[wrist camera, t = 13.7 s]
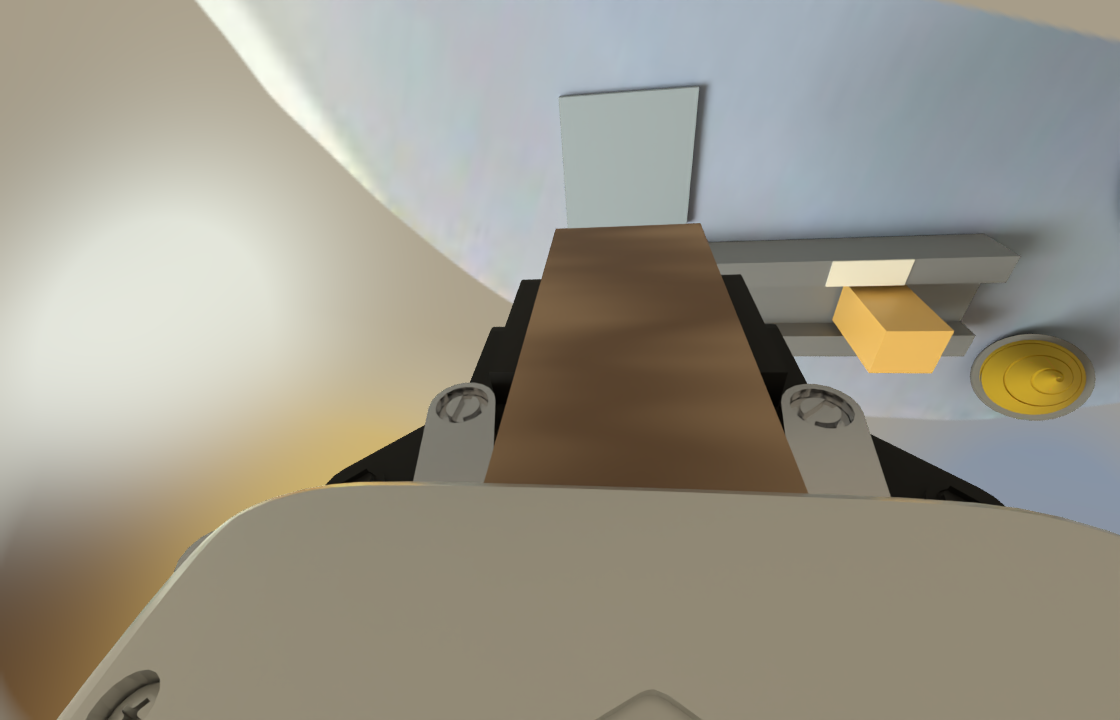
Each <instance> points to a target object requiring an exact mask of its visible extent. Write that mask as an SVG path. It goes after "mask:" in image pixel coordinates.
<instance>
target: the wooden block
mask: <svg viewBox="0 0 1120 720" xmlns="http://www.w3.org/2000/svg"><path fill="white" fill-rule="evenodd" d="M484 483H505V484H541V485H577V486H609V487H640V488H670V489H700V490H728V491H755V492H781V493H808V491H807V488H806V486H805V483H804V481H803V478H802V476H801V473H800V471H799V468H798V466H797V463H796V461H795V458H794V456H793V453H792V451H791V448H790V446H789V443H788V441H787V438H786V436H785V433H784V431H783V428H782V426H781V423H780V421H779V418H778V416H777V413H776V411H775V408H774V406H773V403H772V401H771V398H770V396H769V393H768V391H767V388H766V386H765V383H764V381H763V378H762V376H761V373H760V371H759V368H758V366H757V363H756V361H755V358H754V356H753V353H752V351H751V349H750V346H749V344H748V341H747V339H746V336H745V334H744V331H743V329H742V326H741V324H740V321H739V319H738V316H737V314H736V311H735V309H734V306H733V304H732V301H731V299H730V296H729V294H728V291H727V289H726V286H725V284H724V281H723V279H722V276H721V274H720V271H719V269H718V266H717V264H716V261H715V259H714V256H713V254H712V251H711V249H710V246H709V244H708V241H707V239H706V236H705V234H704V231H703V229H702V226H701V224H700V223H693V224H668V225H642V226H617V227H591V228H565V229H556V230H555V233H554V237H553V240H552V244H551V247H550V251H549V254H548V258H547V262H546V265H545V269H544V272H543V276H542V279H541V283H540V286H539V290H538V293H537V297H536V300H535V304H534V307H533V311H532V314H531V318H530V321H529V325H528V328H527V332H526V336H525V339H524V343H523V346H522V350H521V353H520V357H519V360H518V364H517V367H516V371H515V374H514V378H513V381H512V385H511V388H510V392H509V395H508V399H507V402H506V406H505V409H504V413H503V417H502V420H501V424H500V427H499V431H498V434H497V438H496V441H495V445H494V448H493V452H492V455H491V459H490V462H489V466H488V469H487V473H486V476H485V480H484ZM808 494H809V493H808Z"/></svg>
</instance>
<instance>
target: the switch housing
mask: <svg viewBox="0 0 1120 720" xmlns="http://www.w3.org/2000/svg"><path fill="white" fill-rule="evenodd" d="M708 244H709V246H710V249H711V251H712V254H713V256H714V259H715V261H716V264H717V266H718V269H719V271H720V274H721V275H732V274H741V275H742V277H743V279H744V281H745V283H746V285H747V287H748V289H749V292H750V294H751V296H752V298H753V300H754V302H755V304H756V306H757V308H758V310H759V313H760V315H761V317H762V319H763V321H764V323H765V324H776V325H777V327H778V328H779V330H780V332H781V334H782V336H783V338H784V340H785V342H786V344H787V345H788V347H789V349H790V351H791V353H792V355H793V356H857V355H856V353H855V352H854V351H853V349H852V348H851V346H850V345H849V343H848V342H847V340H846V339H845V338H844V336H843V335H842V333H841V332H840V330H839V329H838V327H837V326H836V325H835V323H834V322H833V320H832V319H833V316H834V313H835V310H836V307H837V304H838V301H839V298H840V295H841V292H842V289H843V286H895V285H906V286H908V287H909V288H910V289H911V290H912V291H913V292H914V293H915V294H916V295H917V296H918V297H919V298H920V299H921V300H922V301H923V302H924V303H925V304H926V305H927V306H929V307H930V308H931V309H932V310H933V311H934V312H935V313H936V314H937V315H938V316H939V317H940V318H941V319H942V320H943V321H944V322H945V323H946V324H947V325H949V326H950V327H951V328H952V329H953V330H954V333H953V335H952V336H951V338H950V340H949V342H948V344H947V346H946V348H945V350H944V351H943V353H942V355H941V356H964V355H965V353H966V352H967V350H968V348H969V346H970V345H971V343H972V341H973V339H974V338H975V336H976V335H975V334H974V333H972V332H971V331H970V330H969V329H968V328H967V327H966V326H965V325H964V324H962V323H961V322H960V321H961V319H962V317H963V316H964V314H965V312H966V310H967V308H968V306H969V304H970V302H971V301H972V299H973V297H974V295H975V293H976V291H977V289H978V288H979V286H980V284H981V283H1006V282H1007V280H1008V278H1009V276H1010V275H1011V273H1012V271H1013V269H1014V268H1015V266H1016V264H1017V262H1018V261H1019V259H1020V257H1021V256H1020V255H1018V254H1017V253H1015V252H1013V251H1012V250H1010V249H1008V248H1007V247H1005V246H1003V245H1002V244H1000V243H998V242H997V241H995V240H993V239H992V238H990V237H988V236H987V235H985V234H958V235H927V236H895V237H863V238H831V239H799V240H768V241H736V242H708Z"/></svg>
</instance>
